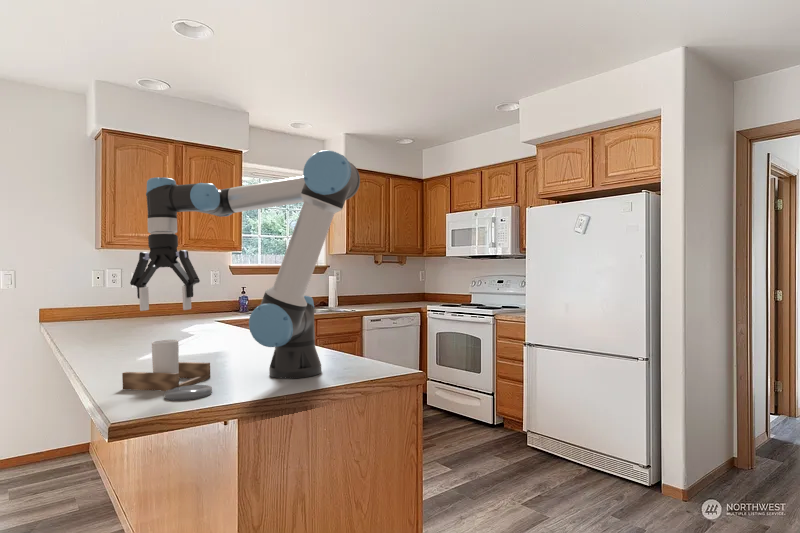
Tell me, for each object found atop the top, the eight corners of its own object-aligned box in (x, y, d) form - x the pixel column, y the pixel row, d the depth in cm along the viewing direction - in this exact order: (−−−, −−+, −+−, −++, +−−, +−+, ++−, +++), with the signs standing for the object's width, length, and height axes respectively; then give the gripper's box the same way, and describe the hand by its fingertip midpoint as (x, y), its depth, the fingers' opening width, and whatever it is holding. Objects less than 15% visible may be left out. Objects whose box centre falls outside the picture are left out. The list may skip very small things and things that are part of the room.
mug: (174, 387, 138) (173, 342, 138) (148, 388, 137) (147, 343, 137) (186, 378, 148) (185, 337, 148) (162, 380, 147) (161, 338, 147)
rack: (210, 377, 148) (210, 362, 148) (175, 391, 133) (175, 374, 133) (162, 376, 152) (161, 361, 152) (122, 389, 136) (122, 373, 136)
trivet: (220, 390, 133) (220, 385, 133) (195, 401, 122) (194, 396, 122) (183, 388, 135) (183, 384, 135) (154, 399, 124) (154, 395, 124)
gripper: (210, 232, 143) (213, 307, 143) (134, 236, 149) (136, 309, 149) (194, 231, 136) (197, 310, 136) (114, 235, 141) (117, 311, 141)
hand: (165, 310), depth 142 cm, fingers open, 13 cm apart
